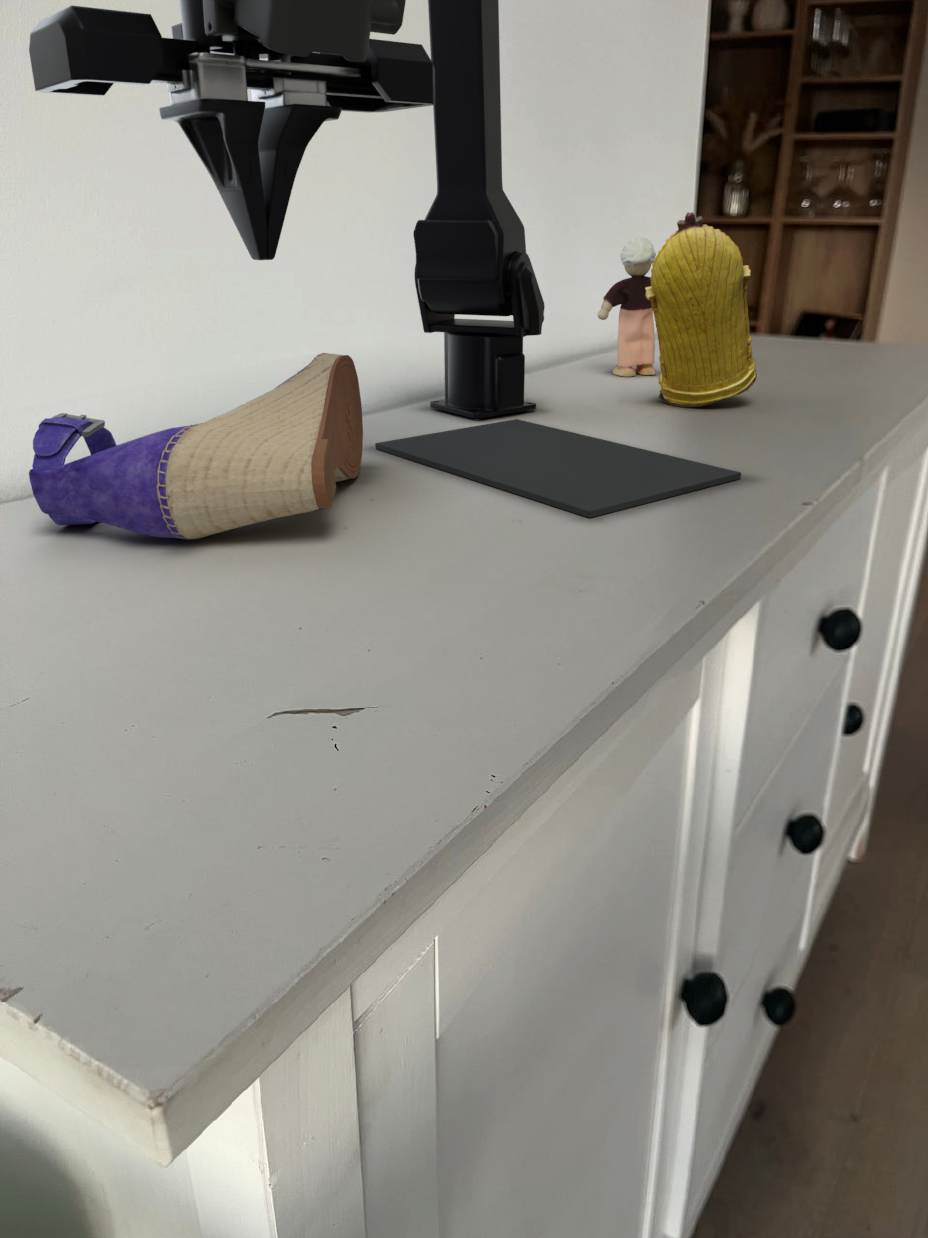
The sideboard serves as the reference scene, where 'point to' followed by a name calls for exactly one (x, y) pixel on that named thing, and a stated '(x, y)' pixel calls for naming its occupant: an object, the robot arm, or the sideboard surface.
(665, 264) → the shrine
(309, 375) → the sandal
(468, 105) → the robot arm
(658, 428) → the sideboard surface
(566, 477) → the mat
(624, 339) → the grandmother figurine
